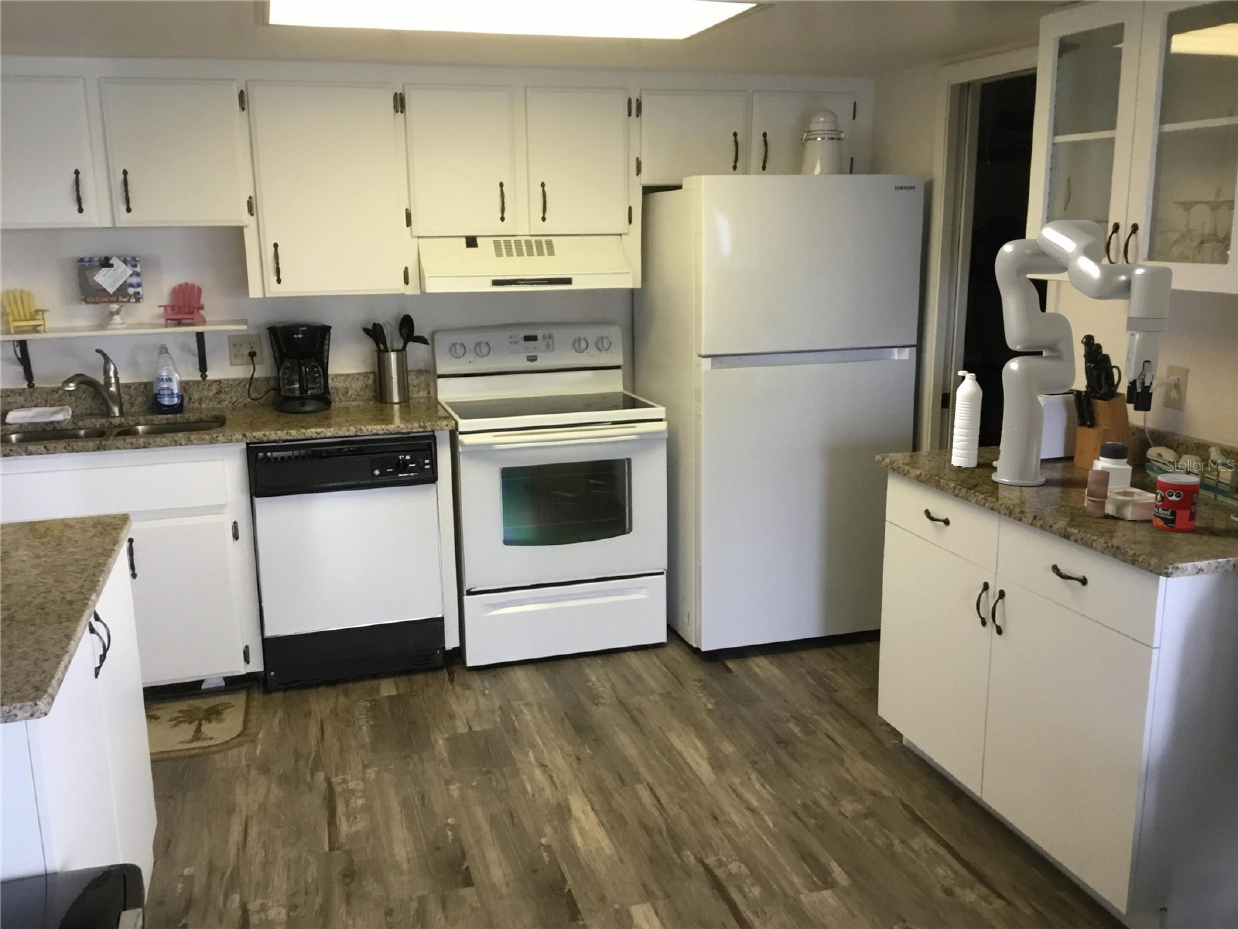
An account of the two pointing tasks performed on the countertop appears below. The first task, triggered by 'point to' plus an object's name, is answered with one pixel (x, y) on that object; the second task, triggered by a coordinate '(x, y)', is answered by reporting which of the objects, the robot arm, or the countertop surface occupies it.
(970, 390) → the water bottle
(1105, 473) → the peg
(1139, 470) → the countertop surface
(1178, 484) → the canned food
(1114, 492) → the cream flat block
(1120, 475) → the medicine bottle
